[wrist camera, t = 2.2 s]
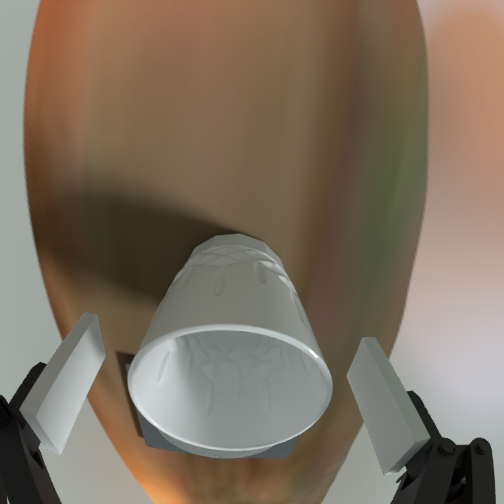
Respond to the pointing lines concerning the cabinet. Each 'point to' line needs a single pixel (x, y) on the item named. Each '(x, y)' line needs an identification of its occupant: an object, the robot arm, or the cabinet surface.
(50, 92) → the cabinet surface
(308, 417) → the white cup
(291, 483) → the cabinet surface
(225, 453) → the duct collar
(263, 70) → the cabinet surface
